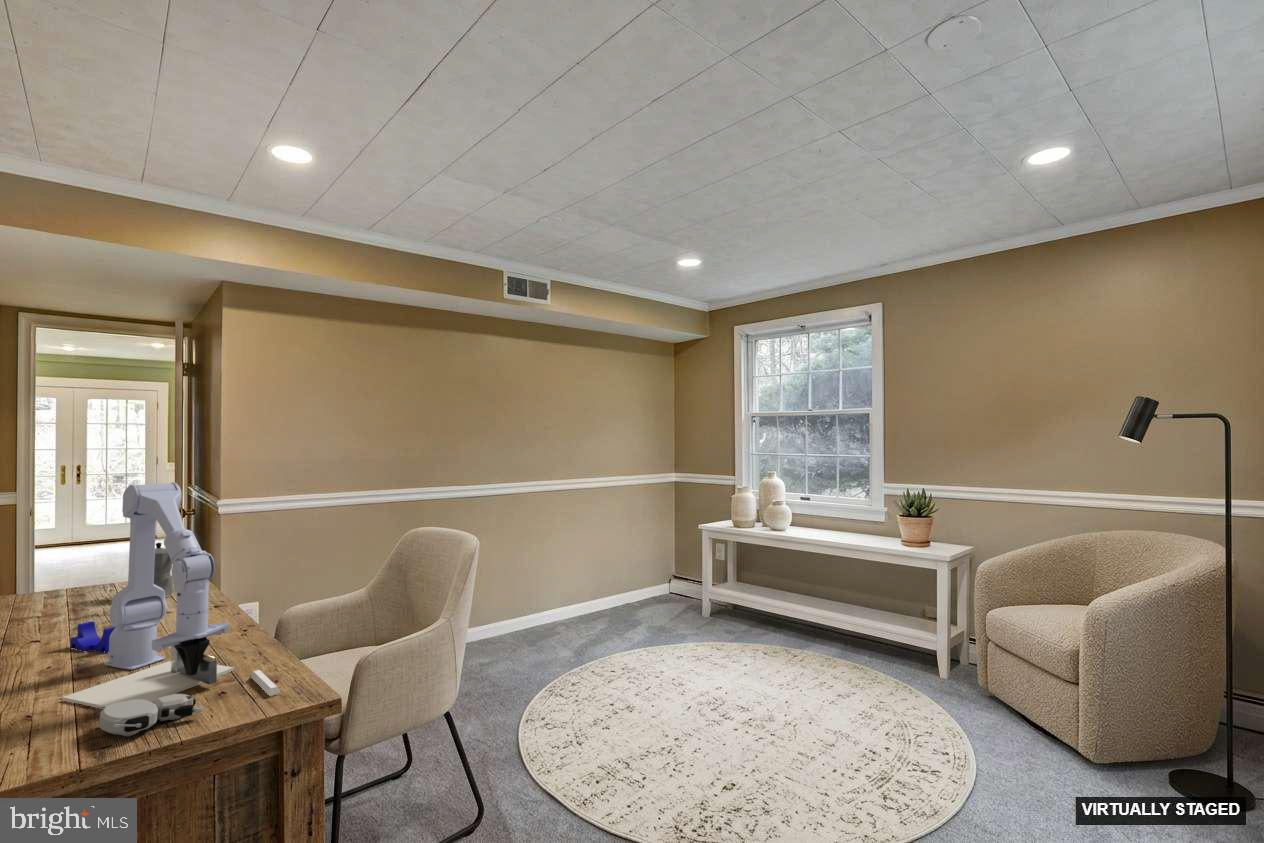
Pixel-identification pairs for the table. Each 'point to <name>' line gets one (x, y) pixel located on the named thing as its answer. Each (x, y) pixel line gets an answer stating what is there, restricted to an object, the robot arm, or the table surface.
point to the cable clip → (91, 638)
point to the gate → (201, 669)
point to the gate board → (139, 686)
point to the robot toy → (144, 713)
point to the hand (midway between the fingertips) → (191, 674)
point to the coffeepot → (163, 569)
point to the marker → (265, 683)
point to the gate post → (173, 660)
